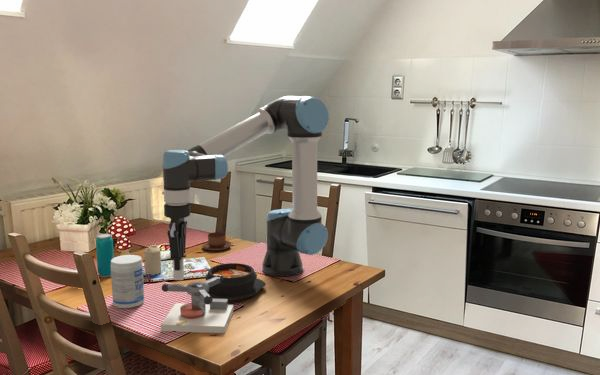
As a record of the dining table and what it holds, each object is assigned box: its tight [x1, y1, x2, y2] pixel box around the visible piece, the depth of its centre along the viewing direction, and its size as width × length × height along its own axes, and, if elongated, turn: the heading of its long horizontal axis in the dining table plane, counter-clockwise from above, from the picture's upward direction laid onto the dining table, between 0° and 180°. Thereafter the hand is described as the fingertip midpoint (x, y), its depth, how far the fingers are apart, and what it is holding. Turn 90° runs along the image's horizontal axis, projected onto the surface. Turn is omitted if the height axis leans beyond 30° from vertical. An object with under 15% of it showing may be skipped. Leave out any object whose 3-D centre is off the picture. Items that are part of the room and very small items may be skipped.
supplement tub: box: [110, 254, 145, 309], centre depth 169 cm, size 10×10×15 cm
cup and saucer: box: [202, 231, 232, 252], centre depth 228 cm, size 12×12×6 cm
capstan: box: [161, 275, 224, 318], centre depth 157 cm, size 17×19×9 cm
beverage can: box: [95, 233, 115, 279], centre depth 193 cm, size 6×6×15 cm
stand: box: [160, 299, 235, 334], centre depth 158 cm, size 18×15×4 cm
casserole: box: [204, 262, 267, 302], centre depth 178 cm, size 25×19×8 cm
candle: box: [144, 245, 162, 275], centre depth 197 cm, size 6×6×10 cm
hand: (178, 279), depth 162 cm, fingers closed
